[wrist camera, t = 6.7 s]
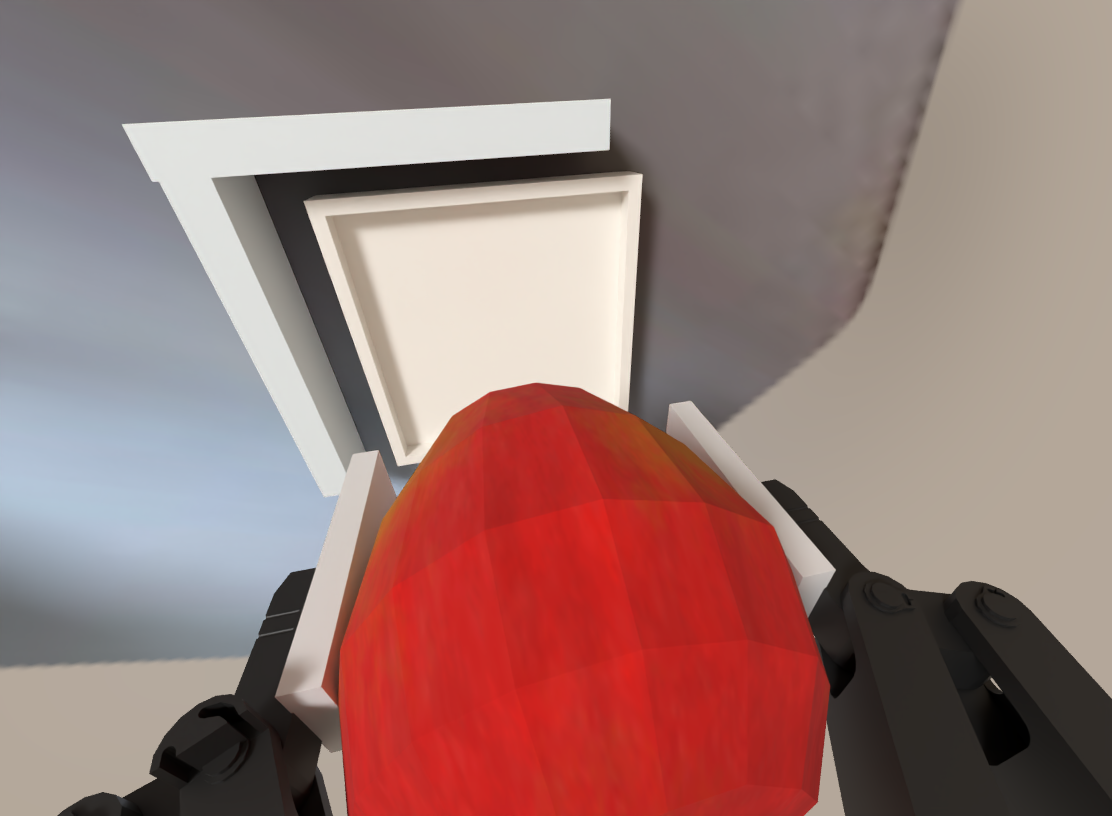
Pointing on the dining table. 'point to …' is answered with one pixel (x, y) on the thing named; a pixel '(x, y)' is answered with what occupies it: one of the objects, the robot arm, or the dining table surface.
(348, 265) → the dish
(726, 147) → the dining table surface
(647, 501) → the apple
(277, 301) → the pen walls
